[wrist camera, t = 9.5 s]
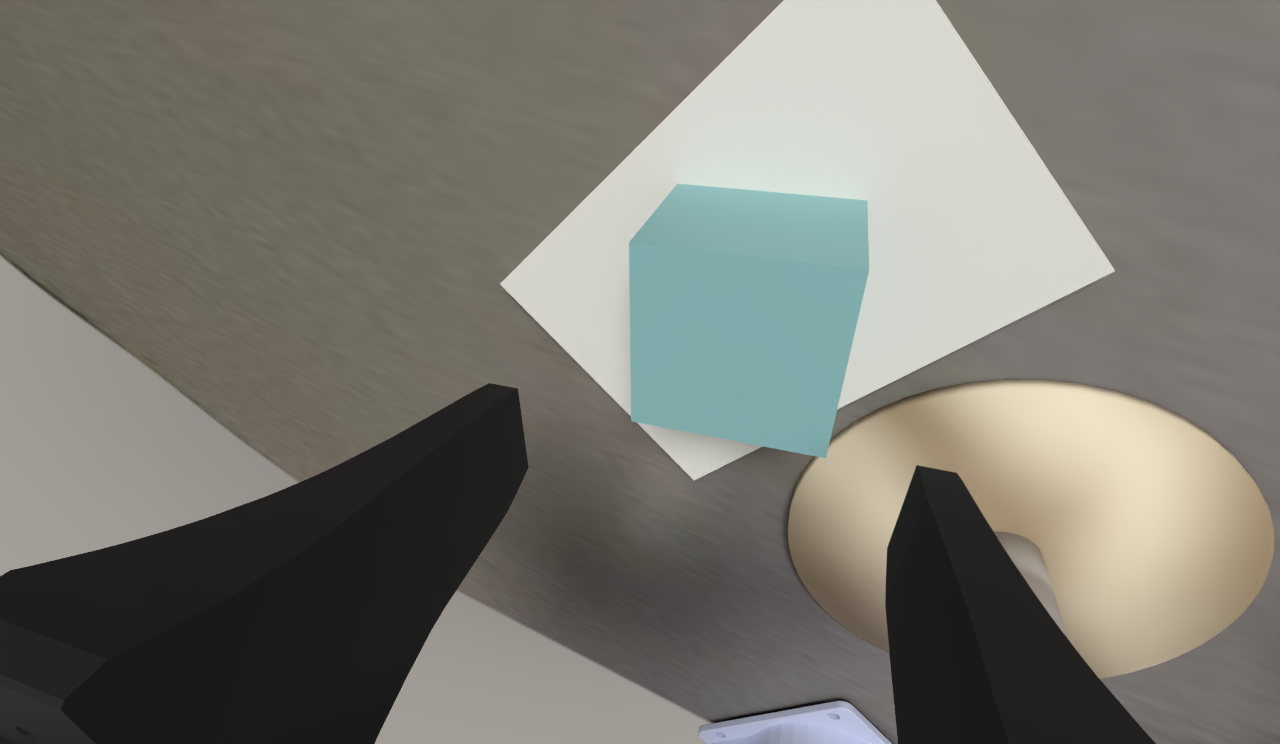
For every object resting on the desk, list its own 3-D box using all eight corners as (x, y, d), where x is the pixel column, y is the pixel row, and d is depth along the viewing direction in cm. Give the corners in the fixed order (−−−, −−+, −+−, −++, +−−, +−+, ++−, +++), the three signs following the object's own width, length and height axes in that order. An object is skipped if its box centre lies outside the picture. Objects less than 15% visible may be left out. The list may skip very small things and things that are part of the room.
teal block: (672, 339, 19) (631, 421, 16) (677, 183, 17) (628, 242, 13) (832, 363, 18) (826, 458, 15) (867, 200, 15) (869, 270, 12)
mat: (697, 469, 23) (693, 480, 23) (508, 276, 21) (499, 283, 20) (1107, 261, 15) (1114, 271, 15) (874, -90, 13) (875, -92, 12)
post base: (919, 696, 27) (926, 790, 24) (714, 487, 23) (692, 565, 20) (1347, 623, 19) (1441, 751, 16) (1126, 290, 15) (1191, 370, 12)
